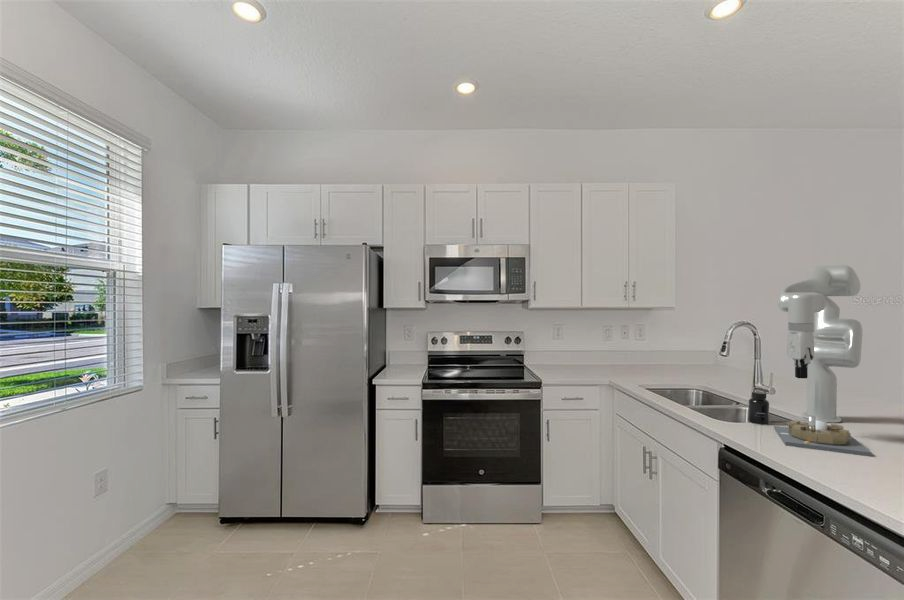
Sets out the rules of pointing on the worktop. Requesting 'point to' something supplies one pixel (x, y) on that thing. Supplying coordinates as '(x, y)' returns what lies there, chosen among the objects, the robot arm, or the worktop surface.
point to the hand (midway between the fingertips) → (801, 377)
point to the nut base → (849, 448)
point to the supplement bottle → (758, 409)
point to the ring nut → (819, 432)
